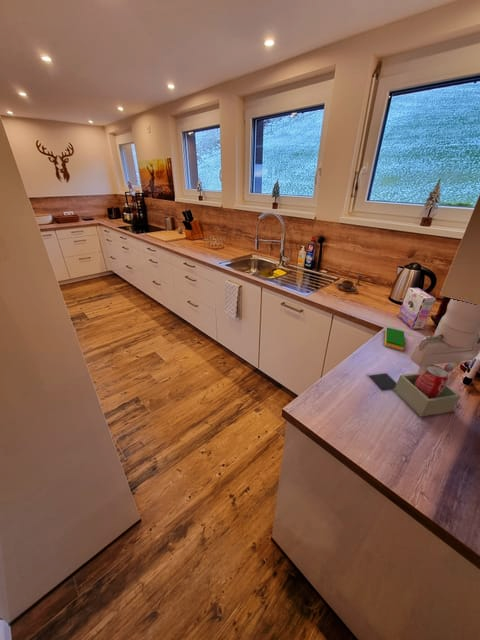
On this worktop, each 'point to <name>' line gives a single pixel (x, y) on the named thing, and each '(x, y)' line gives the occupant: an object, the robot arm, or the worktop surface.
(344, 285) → the place setting
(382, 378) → the coaster
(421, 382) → the soda can
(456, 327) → the robot arm
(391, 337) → the dish sponge
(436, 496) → the worktop surface
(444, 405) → the bin
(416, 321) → the candy box
